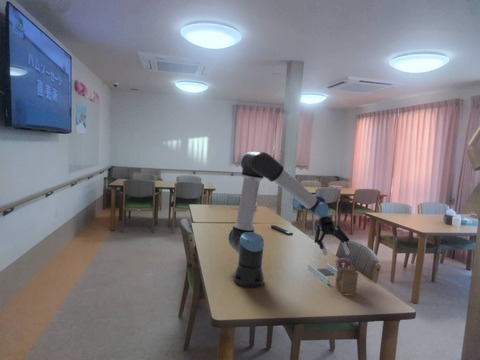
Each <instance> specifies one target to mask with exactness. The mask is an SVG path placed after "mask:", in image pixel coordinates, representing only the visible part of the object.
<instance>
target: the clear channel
mask: <svg viewBox="0 0 480 360" xmlns="http://www.w3.org/2000/svg"><path fill="white" fill-rule="evenodd" d="M327 269H328V270H327ZM307 270H308V271H309V272H310V273H312V274H313V275H314V276H316V277H317V278H318V279H319V280H320V281H322V282H323V283H324V282H325V283H326V285H327V284H329V285H330V279H329V278H328V277H327V276H332V275H331V273H332V274H333V273H334V274H335V275H334V276H336V275H337V268H335V267H334V266H332V265H331V264H329V263H328V262H327V263H326V264H325V268H315V267H314V266H313V265H312V264H310V263H308V266H307ZM330 271H331V272H330ZM325 283H324V284H325Z"/></svg>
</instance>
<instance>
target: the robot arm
mask: <svg viewBox="0 0 480 360" xmlns="http://www.w3.org/2000/svg"><path fill="white" fill-rule="evenodd" d="M240 166H241V169H242V171H241V176H242V178H243V182H242V189H241V195H240V200H239V206H238V212H237V217H236V222H235V223H234V224H233V225H232V229H231V230H230V231H229V233H228V238H227V239H228V243H229V245H230V246H231V248H232V249H233V250H235V251H236V253H238V262H237V263H238V264H237V267H236V269H235V272H234V274H233V282H234V283H235V284H236V285H238V286H240V287H245V288H251V289H252V288H258V287H261V286H263V284H264V282H265V276H264V272H263V269H262V268H263V267H262V264H263V257H264V256H263V253H264V246H265V244H264V243H265V241H264V237H263V236H262V235H260V234H259V233H256V232H255V227H254V225H253V222H254V218H255V211H256V205H257V199H258V194H259V188H260V182H261V181H262V180H263V179H265V178H266V179H267V180H268V181H269V182H271V183H272V182H273V183H275V184H277V185H278V186H279V187H280V188H281V189H283V190H284V191H285V192H286V193H287V194H288V195H290V196H291V197H292V198H293V199H294V200H293V207H294V208H295V210H299V211H305V212H307V213H309V214H312V215H315V216H316V219H317V222H318V225H317V226H316V227H315V236H314V243H315V244H317V245H318V247H319V249H320V250H321V251H322V254H323V257H324V256H327V255H328V251H327V247H326V245H325V242H324V241H323V240H324V238H325V235H327V236H328V235H330V236H331V235H332V236H333V237H336V238H337V239H338V240H339V241H340V242H341V244H342V245H341V246H342V247H343V250H344V253H345V255H346V256H348V255H349V254H351V252H350V249H349V244H348V242H349V241H350V238H349V237H348V236H347V235H346V233H344V231H343V230H342V229H341V227H340V226H339V225H337V226H334V221H333V218H332V216H331V214H330V210H329V209H330V208H329V205H328V204H327V202H326V200H325V198H324V195H322V194H321V193H315V194H312V193H311V192H310V191H309V190H308V189H307V188H306V187H304V186H303V184H301V183H300V182H298V181H297V180H296V179H295V178H294V177H293V176H292V175H291V174H289V173H288V172H287V171H286V170H285V167H284V166H283V165H282V164H281V163H280V162H279V161H278V160H276V159H275V158H274V157H273V156H272V155H271V154H269V153H267V152H264V151H256V150H252V151H248V152H246V153H244V154H243V156H241V159H240ZM321 231H322V233H321ZM320 233H321V234H320Z"/></svg>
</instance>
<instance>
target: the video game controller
mask: <svg viewBox="0 0 480 360" xmlns="http://www.w3.org/2000/svg"><path fill="white" fill-rule="evenodd" d="M334 261H335V267H336V269H337V268H338V267H350V268H352V269H353V270H354V265H353V263H352V260H351V259H350V258H346V257H338V258H336V259H335V260H334Z"/></svg>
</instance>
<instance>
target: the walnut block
mask: <svg viewBox="0 0 480 360" xmlns="http://www.w3.org/2000/svg"><path fill="white" fill-rule="evenodd" d="M336 270H337V276H335V277H336V278H335V287H334V289H335V288H336V289H337V290H338V291H339V292H340V293H341V294H355V295H356V293H357V285H358V276H359V273H358V272H357V270H355V269H354V268H353V269H352V268H350V267H349V266H348V267H344V266H343V267H338V268H337V267H336ZM336 289H335V290H336ZM337 290H336V291H337ZM338 291H337V292H338ZM339 292H338V293H339ZM340 293H339V294H340ZM341 294H340V295H341Z"/></svg>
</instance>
